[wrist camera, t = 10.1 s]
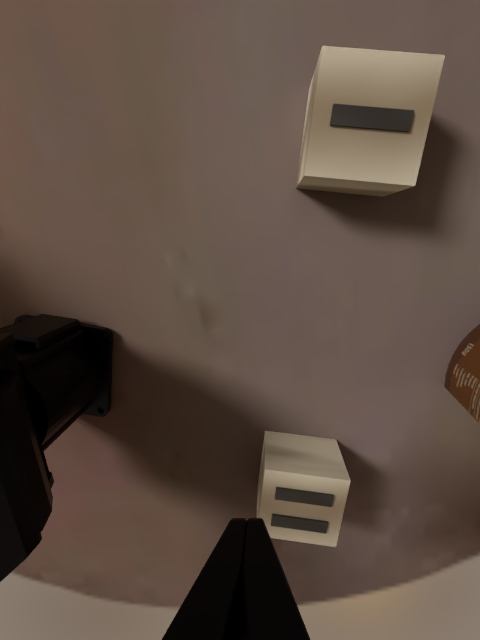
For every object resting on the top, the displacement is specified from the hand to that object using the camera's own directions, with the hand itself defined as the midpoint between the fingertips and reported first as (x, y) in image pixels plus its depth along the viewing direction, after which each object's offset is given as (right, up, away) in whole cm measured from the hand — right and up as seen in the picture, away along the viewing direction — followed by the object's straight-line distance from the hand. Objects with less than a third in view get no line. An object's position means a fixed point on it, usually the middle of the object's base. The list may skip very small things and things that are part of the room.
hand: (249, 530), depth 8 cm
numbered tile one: (+6, +15, +9) cm, 19 cm away
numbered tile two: (+4, -5, +15) cm, 16 cm away
